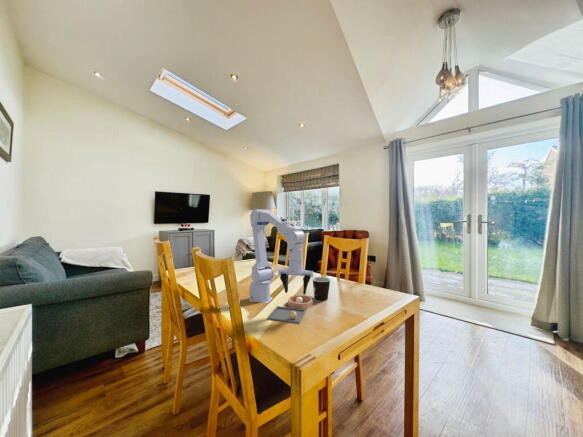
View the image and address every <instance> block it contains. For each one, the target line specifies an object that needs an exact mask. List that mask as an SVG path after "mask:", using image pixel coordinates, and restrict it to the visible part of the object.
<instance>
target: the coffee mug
mask: <svg viewBox="0 0 583 437" xmlns="http://www.w3.org/2000/svg"><path fill="white" fill-rule="evenodd" d="M330 285H331V279H330V278H328V277H323V276H315V277H312V288H313V297H314V300H315V301H318V302H320V301H321V302H324V301H325V302H326V301H327V300H328V298H329V291H330Z"/></svg>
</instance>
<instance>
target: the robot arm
mask: <svg viewBox="0 0 583 437" xmlns="http://www.w3.org/2000/svg"><path fill="white" fill-rule="evenodd" d="M249 218H250V219H249V220H250V226H251V229H252V230H251V231H252V236H253V237H252V238H253V245H254V246H253V247H254V254H255V256H254V257H255V263H254V264H253V265H252V267H251V274H250V275H251V280H252V281H251V282H250V285H249V300H248V302H254V303H255V302H256V303H262V304H268V303H269V302H270V301H271V300H272V299H273V298H274V297H273V296H271V282H272V280H273V279H274V276H275V273H274V272H275V271H274V269H273V265H272V263H270V262H269V261H268V257H267V248H266V241H265V240H266V239H265V234H264V233H265V232H264V229H265V228H266V227H267V226H268V225H269V224H271V225H272V226H274V227H275V228H277V229H276V230H277V232H278V233H279V234H280V235H281V236H283V238H285V241H286V243H287V249H288V268H279V269H278V271H277V274H278V275H280V276H279V278H280V280H281V282H282V285H283V289H284V293H286V294H287V293H288V292H289V276H301V277H303V278H302V281H303V284H302V285H303V290H302V291H303V292H302V295H306V294H307V288H308V285H309V282H310V280H311V279H312V278H314V271H313V270H308V269H307V270H306V269H304V268H303V266H304V264H303V263H304V259H303V257H304V256H303V254H304V253H303V252H304V251H303V250H304V248H303V247H304V245H303V244H305V243H306V240H307V236H306V232H304V231H303V230H302V229H299V230H298V229H297V228H296V227H295V226H292V225H291V224H290V222H289V221H283V220H281V219H280V218H279V217H278V216H277V215H276V214H275V211H273V210H272V209H258V208H254V209H252V211H251V213H250V215H249Z"/></svg>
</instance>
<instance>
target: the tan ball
mask: <svg viewBox="0 0 583 437" xmlns="http://www.w3.org/2000/svg"><path fill="white" fill-rule="evenodd" d="M296 317H297V313H296V312H295V311H290V312H289V318H290V319H295V318H296Z"/></svg>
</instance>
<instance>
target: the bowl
mask: <svg viewBox="0 0 583 437" xmlns="http://www.w3.org/2000/svg"><path fill="white" fill-rule="evenodd" d="M297 297H301V298H302V299H303V302H302V303H297V302H296V298H297ZM313 304H314V300H313V298H312V296H308V295H306V294H294V295H291V296H289V297H288V298H287V305H288V307H289V308H297V309H305V310H307V309H310V308H312V307H313Z"/></svg>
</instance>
